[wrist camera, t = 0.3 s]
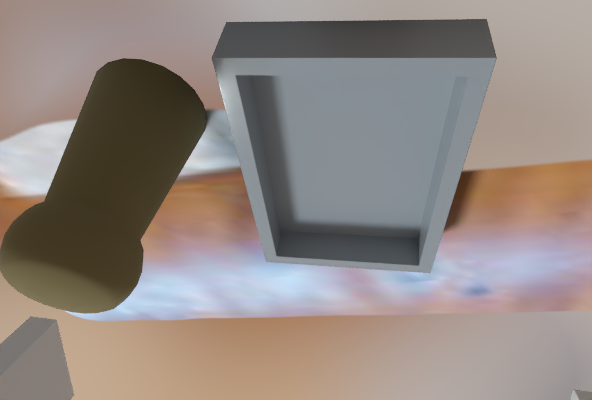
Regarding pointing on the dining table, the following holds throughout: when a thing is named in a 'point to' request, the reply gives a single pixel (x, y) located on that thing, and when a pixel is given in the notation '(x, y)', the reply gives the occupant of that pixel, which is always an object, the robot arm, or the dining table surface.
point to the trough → (353, 133)
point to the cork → (105, 190)
